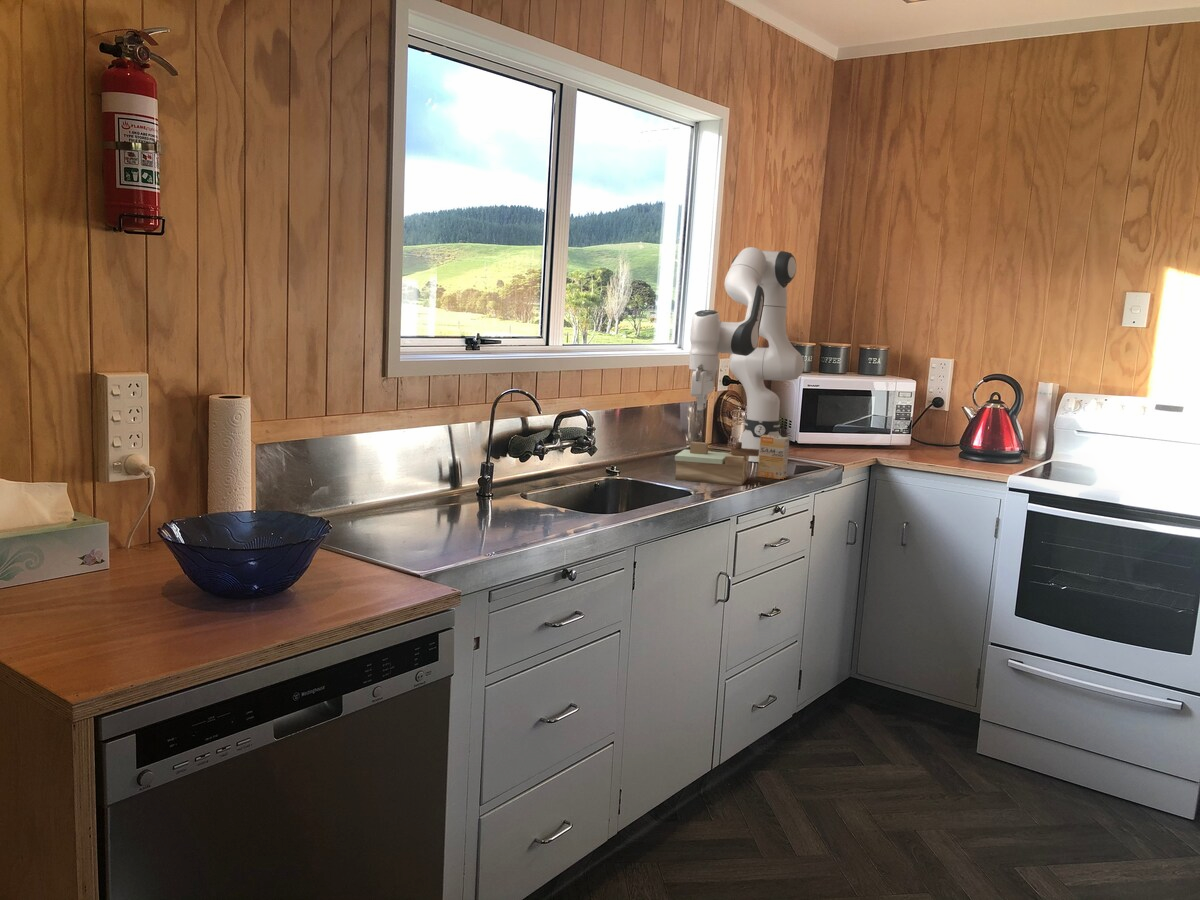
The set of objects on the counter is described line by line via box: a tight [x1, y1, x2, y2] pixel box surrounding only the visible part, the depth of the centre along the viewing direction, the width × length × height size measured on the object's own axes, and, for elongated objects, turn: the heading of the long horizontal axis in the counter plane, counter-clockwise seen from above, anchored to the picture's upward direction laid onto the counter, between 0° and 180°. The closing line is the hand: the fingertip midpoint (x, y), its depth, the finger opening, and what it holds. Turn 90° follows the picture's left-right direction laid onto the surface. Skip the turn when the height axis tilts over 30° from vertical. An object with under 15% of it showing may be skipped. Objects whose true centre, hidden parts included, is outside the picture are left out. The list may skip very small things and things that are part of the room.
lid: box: [674, 441, 730, 464], centre depth 294 cm, size 14×14×5 cm
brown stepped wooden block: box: [730, 441, 759, 456], centre depth 288 cm, size 2×8×4 cm, turn 74°
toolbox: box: [674, 451, 749, 486], centre depth 294 cm, size 14×20×8 cm
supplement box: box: [757, 435, 790, 480], centre depth 300 cm, size 8×5×13 cm, turn 62°
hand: (701, 409), depth 294 cm, fingers open, 3 cm apart
